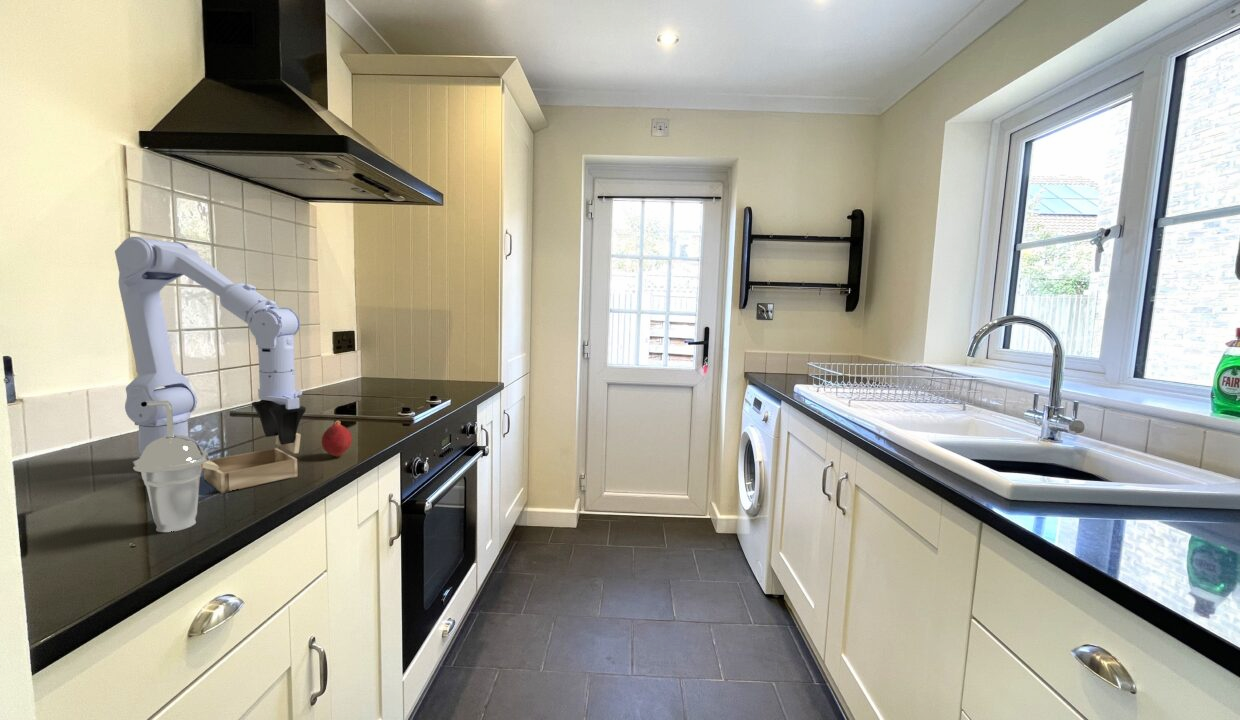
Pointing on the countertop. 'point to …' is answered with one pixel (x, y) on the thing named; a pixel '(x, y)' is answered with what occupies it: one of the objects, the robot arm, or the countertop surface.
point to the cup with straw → (172, 476)
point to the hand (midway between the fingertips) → (279, 439)
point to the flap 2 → (291, 444)
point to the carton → (251, 469)
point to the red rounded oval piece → (336, 439)
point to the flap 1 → (210, 465)
